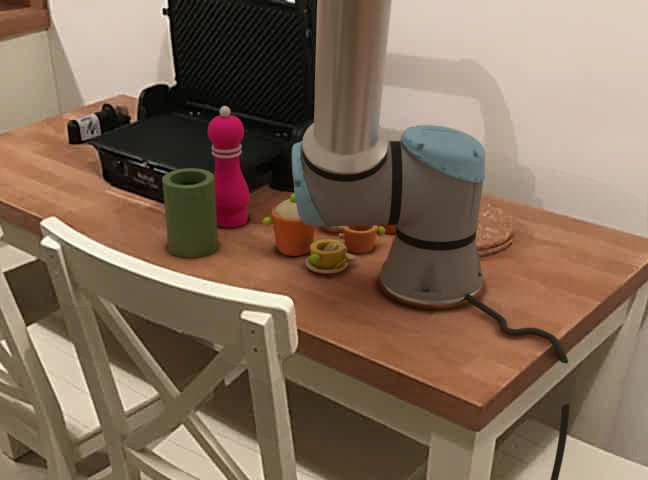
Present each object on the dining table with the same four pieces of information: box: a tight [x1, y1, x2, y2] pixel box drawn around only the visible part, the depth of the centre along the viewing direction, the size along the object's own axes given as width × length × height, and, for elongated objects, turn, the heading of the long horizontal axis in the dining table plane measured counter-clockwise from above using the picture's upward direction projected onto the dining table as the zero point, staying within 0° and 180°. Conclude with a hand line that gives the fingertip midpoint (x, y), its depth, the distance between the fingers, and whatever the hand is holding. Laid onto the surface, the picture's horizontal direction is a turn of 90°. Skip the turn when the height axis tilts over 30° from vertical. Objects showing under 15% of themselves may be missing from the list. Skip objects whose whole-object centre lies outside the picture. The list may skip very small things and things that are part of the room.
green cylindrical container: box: [161, 167, 219, 259], centre depth 148 cm, size 8×8×12 cm
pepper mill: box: [207, 105, 251, 229], centre depth 154 cm, size 7×7×20 cm
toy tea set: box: [262, 192, 396, 275], centre depth 149 cm, size 26×16×10 cm, turn 137°
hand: (337, 15), depth 147 cm, fingers open, 13 cm apart
